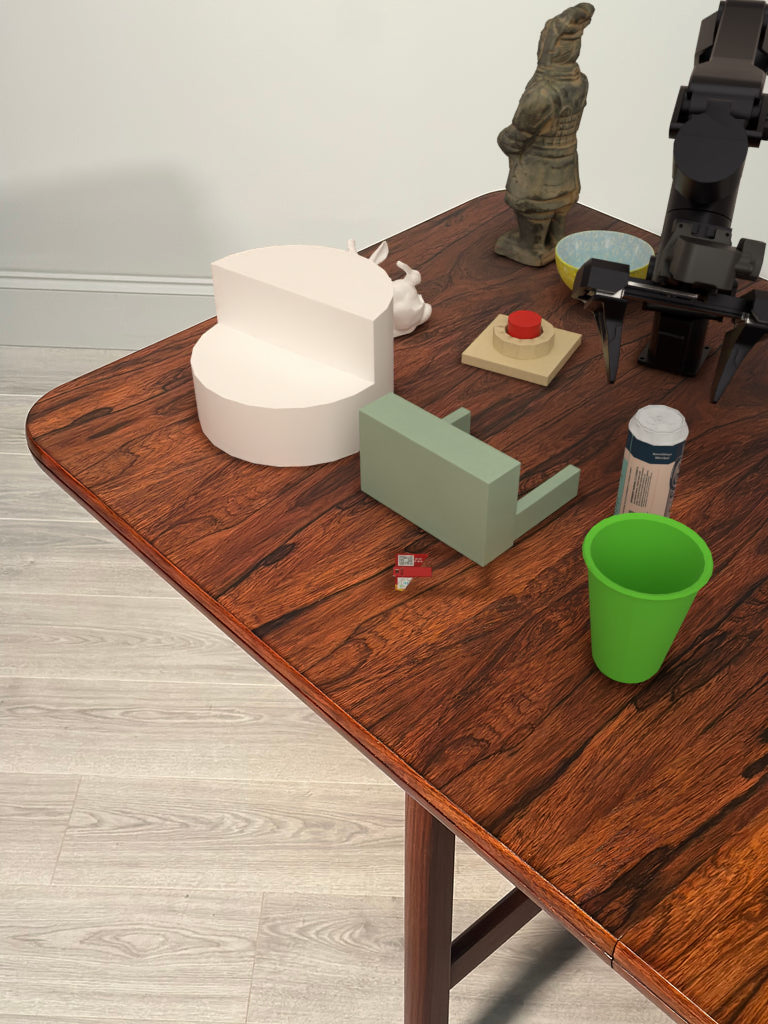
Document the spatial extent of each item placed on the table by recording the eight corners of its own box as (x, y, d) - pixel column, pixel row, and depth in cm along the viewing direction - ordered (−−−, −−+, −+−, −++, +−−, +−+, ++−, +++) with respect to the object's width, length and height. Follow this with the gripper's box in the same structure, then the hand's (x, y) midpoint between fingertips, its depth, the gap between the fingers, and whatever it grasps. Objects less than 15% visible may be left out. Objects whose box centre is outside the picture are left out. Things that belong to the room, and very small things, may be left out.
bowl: (530, 294, 126) (534, 246, 122) (598, 267, 131) (604, 221, 127) (598, 332, 119) (605, 282, 115) (667, 302, 124) (675, 254, 120)
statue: (528, 227, 140) (550, -17, 121) (586, 248, 135) (618, -3, 116) (475, 254, 134) (488, 2, 115) (533, 277, 129) (558, 17, 110)
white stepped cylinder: (157, 421, 105) (136, 303, 97) (284, 339, 118) (276, 228, 109) (311, 492, 96) (303, 369, 88) (431, 395, 109) (434, 278, 100)
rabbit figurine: (334, 347, 116) (330, 268, 110) (321, 315, 122) (317, 238, 116) (437, 334, 118) (440, 255, 112) (420, 303, 124) (421, 226, 118)
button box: (499, 322, 120) (500, 299, 119) (580, 343, 117) (583, 320, 115) (461, 363, 114) (462, 338, 112) (546, 386, 110) (549, 362, 108)
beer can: (676, 543, 91) (701, 429, 83) (626, 553, 90) (647, 439, 82) (650, 509, 94) (672, 397, 86) (602, 519, 93) (620, 406, 85)
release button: (515, 321, 115) (516, 307, 114) (545, 329, 114) (546, 314, 113) (501, 335, 113) (502, 321, 112) (532, 343, 112) (533, 329, 110)
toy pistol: (392, 591, 86) (393, 551, 90) (392, 595, 86) (393, 554, 90) (488, 593, 86) (484, 552, 90) (487, 597, 86) (484, 556, 90)
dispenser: (458, 430, 104) (462, 352, 98) (580, 496, 96) (591, 415, 90) (360, 490, 97) (358, 409, 91) (482, 567, 88) (488, 483, 83)
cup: (692, 632, 82) (719, 526, 75) (678, 718, 76) (706, 610, 69) (578, 606, 85) (595, 501, 78) (555, 687, 78) (571, 580, 71)
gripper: (611, 173, 84) (572, 363, 85) (840, 216, 84) (799, 408, 84) (588, 208, 95) (553, 377, 96) (790, 247, 95) (754, 416, 95)
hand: (662, 393), depth 93 cm, fingers open, 9 cm apart
